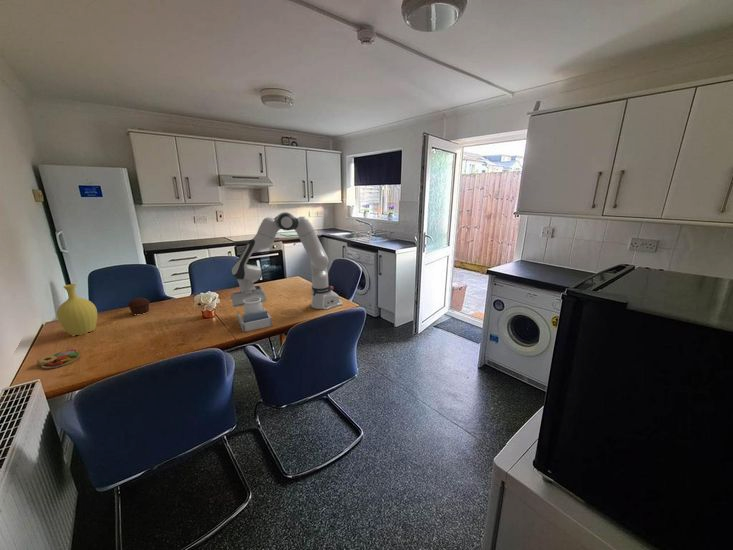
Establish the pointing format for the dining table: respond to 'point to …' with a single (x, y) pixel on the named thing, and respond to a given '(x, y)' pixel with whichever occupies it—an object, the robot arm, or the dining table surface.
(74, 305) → the vase
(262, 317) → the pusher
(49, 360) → the toy food set
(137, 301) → the muffin
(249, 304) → the jar
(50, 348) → the dining table surface
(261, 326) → the open storage bin
